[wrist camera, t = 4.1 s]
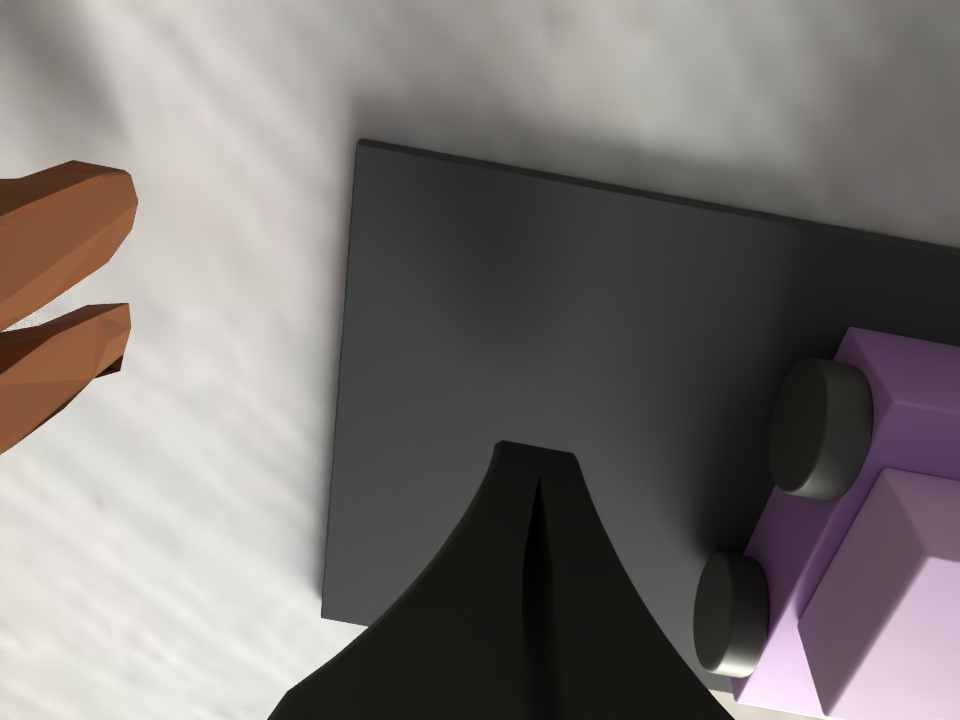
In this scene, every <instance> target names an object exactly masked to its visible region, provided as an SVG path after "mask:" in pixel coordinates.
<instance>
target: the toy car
mask: <svg viewBox="0 0 960 720" xmlns="http://www.w3.org/2000/svg"><path fill="white" fill-rule="evenodd" d="M769 460H770V467H771V472H772V476H773V478H774V481H775V483H776V485H775V487H774V489H773V491H772V494H771V496H770V498H769V500H768V502H767V504H766V506H765V509H764V511H763V513H762V515H761V517H760V519H759V522H758V524H757V526H756V528H755V530H754V532H753V534H752V537H751V539H750V541H749V543H748V545H747V547H746V550H745V552H744V554H743V556H742V555H737V554H731V553H726V552H717V553H714V554H713V555H712V556H711V557H710V558H709V559H708V561H707V562H706V564H705V566H704V569H703V571H702V574H701V577H700V580H699V583H698V587H697V592H696V597H695V604H694V615H693V635H694V644H695V650H696V655H697V658H698V661H699V663H700V665H701V666H702V668H703V669H705V670H706V671H708V672H710V673H715V674H721V675H726V676H730V680H731V685H732V690H733V695H734V700H735V702H737V703H742V704H748V705H753V706H759V707H764V708H769V709H775V710H780V711H786V712H791V713H797V714H802V715H807V716H813V717H818V718H824V719H829V720H960V347H958V346H953V345H947V344H942V343H937V342H931V341H926V340H920V339H915V338H909V337H904V336H899V335H893V334H888V333H882V332H877V331H872V330H866V329H861V328H855V327H849V328H848V330H847V332H846V334H845V336H844V338H843V340H842V343H841V345H840V347H839V349H838V351H837V353H836V356H835V358H834V360H833V361H830V360H824V359H819V358H814V357H810V358H805V359H802V360H801V361H799V362H798V363H797V364H796V365H795V366H794V367H793V368H792V369H791V371H790V372H789V374H788V375H787V377H786V379H785V380H784V382H783V385H782V387H781V389H780V392H779V394H778V397H777V400H776V403H775V407H774V410H773V415H772V420H771V426H770V434H769Z"/></svg>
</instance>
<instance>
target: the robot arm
mask: <svg viewBox="0 0 960 720" xmlns="http://www.w3.org/2000/svg"><path fill="white" fill-rule="evenodd" d="M267 720H735V719H734V718H733V717H732V716H731V715H730V714H729V713H728V712H727V711H726V710H725V709H724V708H723V706H722V705H721V704H720V703H719V702H718V701H717V700H716V699H715V697H714V696H713V695H712V694H711V693H710V691H709V690H708V689H707V688H706V687H705V685H704V684H703V683H702V682H701V681H700V679H699V678H698V677H697V676H696V674H695V673H694V672H693V671H692V670H691V668H690V667H689V666H688V665H687V663H686V662H685V661H684V660H683V659H682V657H681V656H680V654H679V653H678V652H677V650H676V649H675V648H674V646H673V645H672V643H671V642H670V641H669V639H668V638H667V637H666V635H665V634H664V632H663V631H662V629H661V628H660V626H659V625H658V623H657V622H656V620H655V619H654V617H653V616H652V614H651V613H650V611H649V610H648V608H647V606H646V605H645V603H644V602H643V600H642V598H641V597H640V595H639V593H638V592H637V590H636V588H635V587H634V585H633V583H632V581H631V579H630V578H629V576H628V574H627V572H626V570H625V569H624V567H623V565H622V563H621V561H620V559H619V557H618V555H617V553H616V551H615V549H614V547H613V545H612V543H611V541H610V539H609V537H608V535H607V532H606V530H605V528H604V526H603V524H602V522H601V520H600V517H599V515H598V513H597V510H596V508H595V506H594V503H593V501H592V498H591V496H590V493H589V491H588V488H587V485H586V483H585V480H584V477H583V474H582V471H581V468H580V465H579V461H578V459H577V458H576V456H575V455H574V453H570V452H565V451H560V450H554V449H549V448H543V447H538V446H533V445H527V444H522V443H516V442H511V441H506V440H502V441H500V442H498V443H496V444H495V446H494V451H493V455H492V459H491V462H490V465H489V467H488V470H487V472H486V474H485V477H484V479H483V481H482V483H481V485H480V487H479V489H478V491H477V492H476V494H475V496H474V498H473V499H472V501H471V503H470V504H469V506H468V508H467V510H466V511H465V513H464V515H463V516H462V518H461V519H460V521H459V522H458V524H457V525H456V527H455V528H454V530H453V531H452V533H451V534H450V535H449V537H448V538H447V540H446V541H445V543H444V544H443V545H442V547H441V548H440V550H439V551H438V552H437V554H436V555H435V556H434V557H433V559H432V560H431V561H430V562H429V564H428V565H427V566H426V567H425V569H424V570H423V571H422V572H421V573H420V575H419V576H418V577H417V578H416V579H415V580H414V582H413V583H412V584H411V585H410V586H409V587H408V588H407V589H406V590H405V591H404V592H403V594H402V595H401V596H400V597H399V598H398V599H397V600H396V601H395V602H394V603H393V604H392V605H391V606H390V607H389V608H388V609H387V610H386V611H385V612H384V613H383V614H382V615H381V616H380V617H379V618H378V619H377V620H376V621H375V622H374V623H373V624H372V625H370V626H369V627H368V628H367V629H366V630H365V631H364V632H362V633H361V634H360V635H359V636H358V637H357V638H356V639H354V640H353V641H352V642H351V643H350V644H349V645H348V646H346V647H345V648H344V649H343V650H342V651H341V652H340V653H338V654H337V655H336V656H335V657H333V658H332V659H331V660H330V661H328V662H327V663H325V664H324V665H323V666H321V667H320V668H319V669H317V670H316V671H315V672H313V673H312V674H310V675H309V676H308V677H306V678H305V679H304V680H302V681H301V682H299V683H298V684H297V685H295V686H294V687H293V688H291V689H290V690H288V691H287V692H286V694H285V695H284V696H283V698H282V699H281V701H280V702H279V703H278V705H277V706H276V708H275V709H274V710H273V712H272V713H271V715H270V716H269V718H268V719H267Z"/></svg>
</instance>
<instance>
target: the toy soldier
mask: <svg viewBox="0 0 960 720" xmlns="http://www.w3.org/2000/svg"><path fill="white" fill-rule="evenodd" d="M137 205H138V199H137V196H136V192H135V189H134V185H133V182H132V178H131V175H130V174H129V173H128V172H126V171H125V170H121V169H116V168H111V167H106V166H100V165H95V164H90V163H85V162H80V161H75V160H72V161H69V162H66V163H63V164H60V165H57V166H55V167H52V168H49V169H46V170H43V171H40V172H37V173H34V174H31V175H28V176H25V177H22V178H17V179H0V455H1V454H2V453H4V452H5V451H7V450H9V449H10V448H12V447H13V446H14V445H16V444H17V443H18V442H20V441H21V440H22V439H24V438H25V437H26V436H28V435H29V434H30V433H32V432H33V431H34V430H36V429H37V428H38V427H40V426H41V425H43V424H44V423H45V422H47V421H48V420H49V419H51V418H52V417H53V416H55V415H56V414H57V413H59V412H60V411H61V410H63V409H64V408H65V407H66V406H67V405H68V404H69V403H70V402H71V401H72V400H73V399H74V398H75V397H76V396H77V395H78V394H79V393H80V392H81V391H82V390H83V389H84V388H85V387H86V386H87V385H88V384H89V383H90V381H91V380H92V379H94V378H98V377H101V376H105V375H108V374H112V373H115V372H119V371H120V369H121V364H122V359H123V354H124V351H125V347H126V344H127V340H128V337H129V333H130V330H131V321H130V311H129V303H119V304H98V305H86V306H84V307H82V308H79V309H77V310H75V311H72V312H70V313H68V314H65V315H63V316H61V317H58V318H56V319H54V320H51V321H49V322H46V323H44V324H42V325H39V326H35V327H29V328H23V329H17V330H12V331H6V332H1V331H3V330H5V329H6V328H8V327H10V326H11V325H13V324H15V323H16V322H18V321H20V320H21V319H23V318H25V317H26V316H28V315H30V314H31V313H33V312H35V311H36V310H38V309H40V308H41V307H43V306H45V305H46V304H47V303H49V302H50V301H52V300H53V299H55V298H56V297H58V296H59V295H61V294H62V293H64V292H65V291H66V290H68V289H69V288H71V287H72V286H74V285H75V284H77V283H78V282H80V281H81V280H83V279H84V278H86V277H87V276H88V275H90V274H91V273H93V272H94V271H96V270H97V269H99V268H100V267H102V266H103V265H105V264H106V263H107V262H108V261H109V260H110V258H111V257H112V256H113V254H114V253H115V252H116V250H117V249H118V247H119V246H120V245H121V243H122V242H123V241H124V239H125V238H126V236H127V235H128V234H129V232H130V231H131V230H132V226H133V222H134V218H135V213H136V209H137Z"/></svg>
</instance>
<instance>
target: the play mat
mask: <svg viewBox="0 0 960 720" xmlns="http://www.w3.org/2000/svg"><path fill="white" fill-rule="evenodd" d="M849 327H855V328H861V329H866V330H872V331H877V332H882V333H888V334H893V335H899V336H904V337H909V338H915V339H920V340H926V341H931V342H937V343H942V344H947V345H953V346H958V347H960V249H958V248H953V247H947V246H942V245H936V244H931V243H926V242H920V241H915V240H909V239H904V238H899V237H893V236H888V235H882V234H877V233H872V232H866V231H861V230H855V229H850V228H845V227H839V226H834V225H828V224H823V223H817V222H812V221H807V220H801V219H796V218H790V217H785V216H780V215H774V214H769V213H763V212H758V211H753V210H747V209H742V208H736V207H731V206H726V205H720V204H715V203H709V202H704V201H698V200H693V199H688V198H682V197H677V196H671V195H666V194H661V193H655V192H650V191H644V190H639V189H634V188H628V187H623V186H617V185H612V184H607V183H601V182H596V181H590V180H585V179H579V178H574V177H569V176H563V175H558V174H552V173H547V172H542V171H536V170H531V169H525V168H520V167H515V166H509V165H504V164H498V163H493V162H487V161H482V160H477V159H471V158H466V157H460V156H455V155H450V154H444V153H439V152H433V151H428V150H423V149H417V148H412V147H406V146H401V145H396V144H390V143H385V142H379V141H374V140H368V139H363V138H361V139H360V140H359V141H358V142H357V144H356V154H355V167H354V181H353V194H352V207H351V221H350V234H349V247H348V261H347V274H346V287H345V301H344V314H343V327H342V341H341V354H340V367H339V381H338V394H337V407H336V421H335V434H334V447H333V461H332V474H331V487H330V501H329V514H328V527H327V541H326V554H325V567H324V581H323V594H322V607H321V618H325V619H330V620H336V621H341V622H347V623H352V624H357V625H363V626H368V627H369V626H370V625H372V624H373V623H374V622H375V621H376V620H377V619H378V618H379V617H380V616H381V615H382V614H383V613H384V612H385V611H386V610H387V609H388V608H389V607H390V606H391V605H392V604H393V603H394V602H395V601H396V600H397V599H398V598H399V597H400V596H401V595H402V594H403V592H404V591H405V590H406V589H407V588H408V587H409V586H410V585H411V584H412V583H413V582H414V580H415V579H416V578H417V577H418V576H419V575H420V573H421V572H422V571H423V570H424V569H425V567H426V566H427V565H428V564H429V562H430V561H431V560H432V559H433V557H434V556H435V555H436V554H437V552H438V551H439V550H440V548H441V547H442V545H443V544H444V543H445V541H446V540H447V538H448V537H449V535H450V534H451V533H452V531H453V530H454V528H455V527H456V525H457V524H458V522H459V521H460V519H461V518H462V516H463V515H464V513H465V511H466V510H467V508H468V506H469V504H470V503H471V501H472V499H473V498H474V496H475V494H476V492H477V491H478V489H479V487H480V485H481V483H482V481H483V479H484V477H485V474H486V472H487V470H488V467H489V465H490V462H491V459H492V455H493V451H494V446H495V444H496V443H498V442H500V441H502V440H506V441H511V442H516V443H522V444H527V445H533V446H538V447H543V448H549V449H554V450H560V451H565V452H570V453H574V455H575V456H576V458H577V459H578V461H579V465H580V468H581V471H582V474H583V477H584V480H585V483H586V485H587V488H588V491H589V493H590V496H591V498H592V501H593V503H594V506H595V508H596V510H597V513H598V515H599V517H600V520H601V522H602V524H603V526H604V528H605V530H606V532H607V535H608V537H609V539H610V541H611V543H612V545H613V547H614V549H615V551H616V553H617V555H618V557H619V559H620V561H621V563H622V565H623V567H624V569H625V570H626V572H627V574H628V576H629V578H630V579H631V581H632V583H633V585H634V587H635V588H636V590H637V592H638V593H639V595H640V597H641V598H642V600H643V602H644V603H645V605H646V606H647V608H648V610H649V611H650V613H651V614H652V616H653V617H654V619H655V620H656V622H657V623H658V625H659V626H660V628H661V629H662V631H663V632H664V634H665V635H666V637H667V638H668V639H669V641H670V642H671V643H672V645H673V646H674V648H675V649H676V650H677V652H678V653H679V654H680V656H681V657H682V659H683V660H684V661H685V662H686V663H687V665H688V666H689V667H690V668H691V670H692V671H693V672H694V673H695V674H696V676H697V677H698V678H699V679H700V681H701V682H702V683H703V684H704V685H705V687H706V688H707V689H710V690H716V691H721V692H727V693H732V694H733V690H732V685H731V680H730V676H726V675H721V674H715V673H710V672H708V671H706V670H705V669H703V668H702V666H701V665H700V663H699V661H698V658H697V655H696V650H695V644H694V635H693V615H694V604H695V597H696V592H697V587H698V583H699V580H700V577H701V574H702V571H703V569H704V566H705V564H706V562H707V561H708V559H709V558H710V557H711V556H712V555H713V554H714V553H717V552H726V553H731V554H737V555H742V556H743V554H744V552H745V550H746V547H747V545H748V543H749V541H750V539H751V537H752V534H753V532H754V530H755V528H756V526H757V524H758V522H759V519H760V517H761V515H762V513H763V511H764V509H765V506H766V504H767V502H768V500H769V498H770V496H771V494H772V491H773V489H774V487H775V485H776V483H775V481H774V478H773V476H772V472H771V467H770V460H769V434H770V426H771V420H772V415H773V410H774V407H775V403H776V400H777V397H778V394H779V392H780V389H781V387H782V385H783V382H784V380H785V379H786V377H787V375H788V374H789V372H790V371H791V369H792V368H793V367H794V366H795V365H796V364H797V363H798V362H799V361H801V360H802V359H805V358H810V357H814V358H819V359H824V360H830V361H833V360H834V358H835V356H836V353H837V351H838V349H839V347H840V345H841V343H842V340H843V338H844V336H845V334H846V332H847V330H848V328H849Z"/></svg>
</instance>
